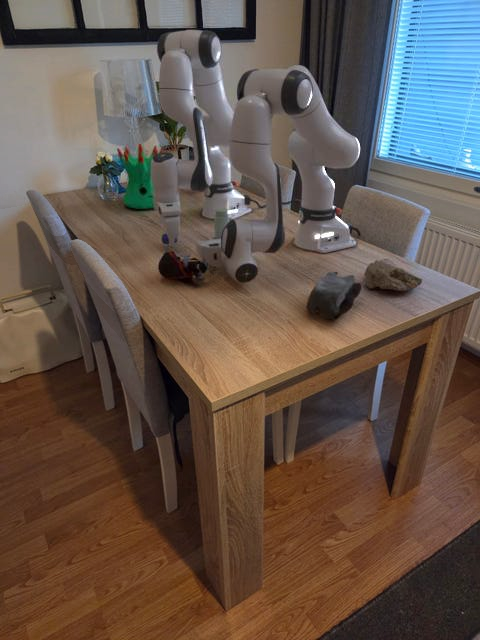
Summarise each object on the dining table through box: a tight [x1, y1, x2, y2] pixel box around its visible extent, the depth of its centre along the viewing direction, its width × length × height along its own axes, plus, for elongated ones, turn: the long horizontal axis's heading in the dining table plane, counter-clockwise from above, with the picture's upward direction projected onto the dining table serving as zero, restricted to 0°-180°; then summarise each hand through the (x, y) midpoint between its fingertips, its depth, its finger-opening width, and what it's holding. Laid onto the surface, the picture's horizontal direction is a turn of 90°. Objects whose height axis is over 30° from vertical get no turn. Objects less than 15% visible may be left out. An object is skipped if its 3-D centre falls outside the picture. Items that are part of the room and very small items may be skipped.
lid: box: [161, 233, 179, 245], centre depth 159 cm, size 6×6×2 cm
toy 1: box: [116, 142, 163, 210], centre depth 197 cm, size 20×20×25 cm
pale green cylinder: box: [213, 208, 230, 239], centre depth 151 cm, size 5×5×16 cm
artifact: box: [364, 258, 423, 292], centre depth 135 cm, size 18×7×15 cm
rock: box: [305, 271, 362, 321], centre depth 121 cm, size 18×11×8 cm, turn 152°
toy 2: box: [157, 250, 209, 286], centre depth 136 cm, size 12×9×15 cm
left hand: (170, 241), depth 159 cm, fingers closed on lid, 5 cm apart
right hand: (221, 237), depth 153 cm, fingers closed on pale green cylinder, 5 cm apart
